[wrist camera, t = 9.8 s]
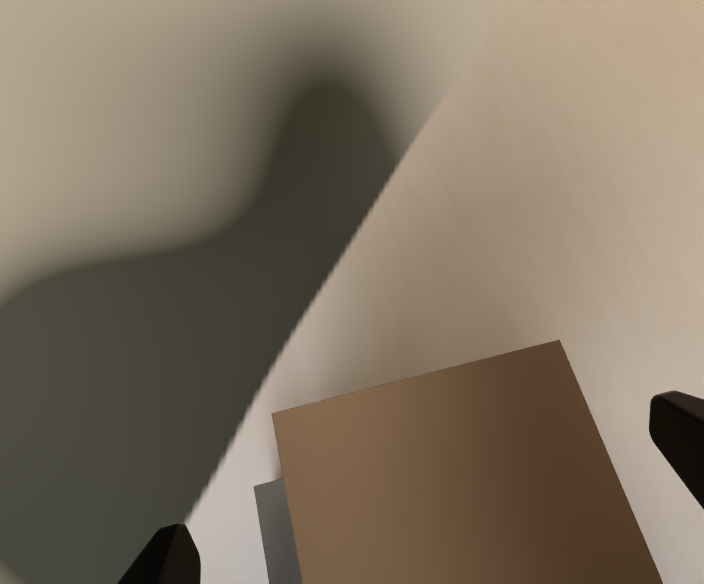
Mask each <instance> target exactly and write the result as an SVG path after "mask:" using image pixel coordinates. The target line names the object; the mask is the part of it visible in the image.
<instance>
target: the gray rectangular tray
mask: <svg viewBox="0 0 704 584" xmlns="http://www.w3.org/2000/svg"><path fill="white" fill-rule="evenodd" d="M254 491H255V497H256V503H257V509H258V516H259V522H260V528H261V534H262V541H263V547H264V553H265V559H266V565H267V572H268V578H269V584H303V582H302V576H301V571H300V566H299V560H298V555H297V549H296V544H295V538H294V533H293V527H292V522H291V516H290V511H289V505H288V500H287V494H286V489H285V483H284V478H283V479H279V480H276V481H272V482H268V483H264V484H261V485H257V486H254Z"/></svg>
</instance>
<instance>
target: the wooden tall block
mask: <svg viewBox="0 0 704 584" xmlns="http://www.w3.org/2000/svg"><path fill="white" fill-rule="evenodd" d="M272 418H273V423H274V429H275V434H276V440H277V445H278V451H279V456H280V462H281V467H282V472H283V478H284V483H285V489H286V494H287V500H288V505H289V511H290V516H291V522H292V527H293V533H294V538H295V544H296V549H297V555H298V560H299V566H300V571H301V576H302V582H303V584H663V582H662V580H661V577H660V575H659V573H658V570H657V568H656V566H655V563H654V561H653V559H652V556H651V554H650V552H649V549H648V547H647V544H646V542H645V540H644V537H643V535H642V533H641V530H640V528H639V526H638V523H637V521H636V519H635V516H634V514H633V512H632V509H631V507H630V504H629V502H628V500H627V497H626V495H625V493H624V490H623V488H622V486H621V483H620V481H619V479H618V476H617V474H616V472H615V469H614V467H613V464H612V462H611V460H610V457H609V455H608V453H607V450H606V448H605V446H604V443H603V441H602V439H601V436H600V434H599V432H598V429H597V427H596V424H595V422H594V420H593V417H592V415H591V413H590V410H589V408H588V406H587V403H586V401H585V399H584V396H583V394H582V392H581V389H580V387H579V384H578V382H577V380H576V377H575V375H574V373H573V370H572V368H571V366H570V363H569V361H568V359H567V356H566V354H565V352H564V349H563V347H562V344H561V342H560V340H556V341H552V342H549V343H545V344H541V345H537V346H533V347H529V348H525V349H521V350H517V351H514V352H510V353H506V354H502V355H498V356H494V357H490V358H486V359H482V360H478V361H475V362H471V363H467V364H463V365H459V366H455V367H451V368H447V369H443V370H439V371H436V372H432V373H428V374H424V375H420V376H416V377H412V378H408V379H404V380H400V381H397V382H393V383H389V384H385V385H381V386H377V387H373V388H369V389H365V390H361V391H358V392H354V393H350V394H346V395H342V396H338V397H334V398H330V399H326V400H322V401H319V402H315V403H311V404H307V405H303V406H299V407H295V408H291V409H287V410H283V411H280V412H276V413H272Z"/></svg>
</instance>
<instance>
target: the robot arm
mask: <svg viewBox="0 0 704 584" xmlns="http://www.w3.org/2000/svg"><path fill="white" fill-rule="evenodd" d="M649 432H650V436H651V438H652V440H653V442H654V443H655V445H656V446H657V447H658V449H659V450H660V451H661V453H662V454H663V455H664V457H665V458H666V460H667V461H668V462H669V464H670V465H671V466H672V468H673V469H674V470H675V472H676V473H677V474H678V476H679V477H680V478H681V480H682V481H683V482H684V484H685V485H686V486H687V488H688V489H689V491H690V492H691V493H692V495H693V496H694V497H695V499H696V500H697V501H698V503H699V504H700V505H701V506H702V508H703V509H704V399H700V398H697V397H694V396H691V395H688V394H685V393H682V392H678V391H669V392H665V393H661V394H657V395H655V396H653V398H652V399H651V403H650V420H649ZM200 575H201V563H200V556H199V552H198V550H197V548H196V546H195V544H194V541H193V539H192V537H191V535H190V533H189V531H188V529H187V527H186V525H185V524H184V523H182V522H178V523H174V524H171V525H166V526H163V527H161V528H159V529H158V530H157V531H156V533H155V534H154V535H153V537H152V538H151V539H150V541H149V542H148V543H147V545H146V546H145V547H144V549H143V550H142V551H141V553H140V554H139V555H138V556H137V558H136V559H135V560H134V562H133V563H132V564H131V566H130V567H129V568H128V570H127V571H126V573H125V574H124V575H123V576H122V578H121V579H120V580H119V582H118V583H117V584H200Z"/></svg>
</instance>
